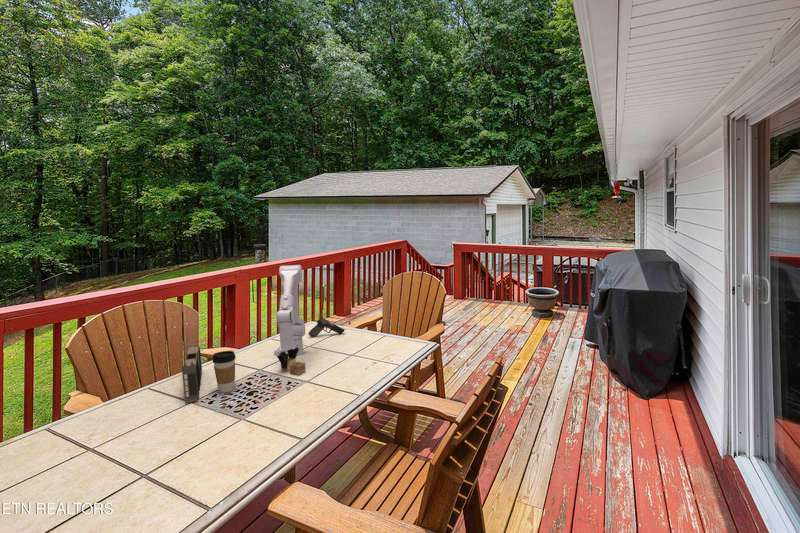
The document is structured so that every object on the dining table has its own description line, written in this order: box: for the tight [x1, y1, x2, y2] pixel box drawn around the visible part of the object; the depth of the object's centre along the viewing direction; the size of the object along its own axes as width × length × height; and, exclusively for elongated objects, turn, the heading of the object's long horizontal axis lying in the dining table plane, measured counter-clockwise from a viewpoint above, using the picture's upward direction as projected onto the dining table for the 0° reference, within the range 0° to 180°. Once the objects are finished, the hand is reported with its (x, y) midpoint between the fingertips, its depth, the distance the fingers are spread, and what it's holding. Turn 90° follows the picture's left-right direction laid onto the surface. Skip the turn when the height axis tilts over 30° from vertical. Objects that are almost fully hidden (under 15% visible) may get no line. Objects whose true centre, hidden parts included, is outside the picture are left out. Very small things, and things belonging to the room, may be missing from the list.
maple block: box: [280, 357, 297, 372], centre depth 179 cm, size 4×4×4 cm
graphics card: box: [181, 346, 203, 404], centre depth 163 cm, size 33×5×14 cm, turn 24°
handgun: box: [308, 317, 345, 338], centre depth 228 cm, size 17×2×12 cm
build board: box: [287, 370, 309, 378], centre depth 175 cm, size 14×11×1 cm
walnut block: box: [289, 361, 306, 377], centre depth 173 cm, size 4×4×4 cm
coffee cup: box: [211, 350, 236, 394], centre depth 159 cm, size 8×8×15 cm
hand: (288, 366), depth 179 cm, fingers closed on maple block, 4 cm apart
